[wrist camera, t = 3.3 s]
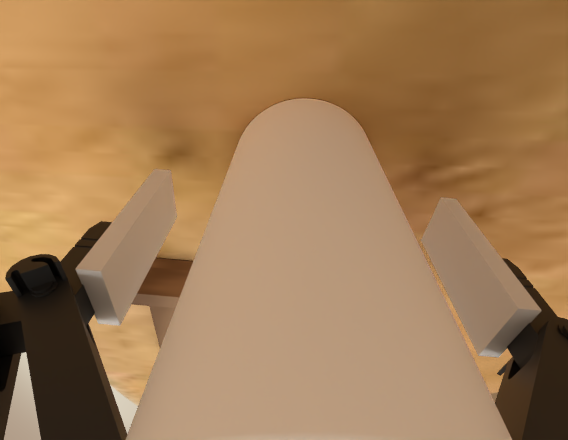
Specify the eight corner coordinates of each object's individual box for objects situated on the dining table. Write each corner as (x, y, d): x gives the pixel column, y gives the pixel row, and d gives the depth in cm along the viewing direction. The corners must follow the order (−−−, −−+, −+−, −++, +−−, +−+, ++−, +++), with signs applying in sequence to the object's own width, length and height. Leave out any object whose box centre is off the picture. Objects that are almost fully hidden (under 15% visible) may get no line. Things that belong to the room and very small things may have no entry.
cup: (216, 114, 17) (-16, 477, 4) (367, 83, 16) (653, 456, 3) (255, 229, 22) (196, 566, 9) (374, 212, 21) (500, 572, 8)
